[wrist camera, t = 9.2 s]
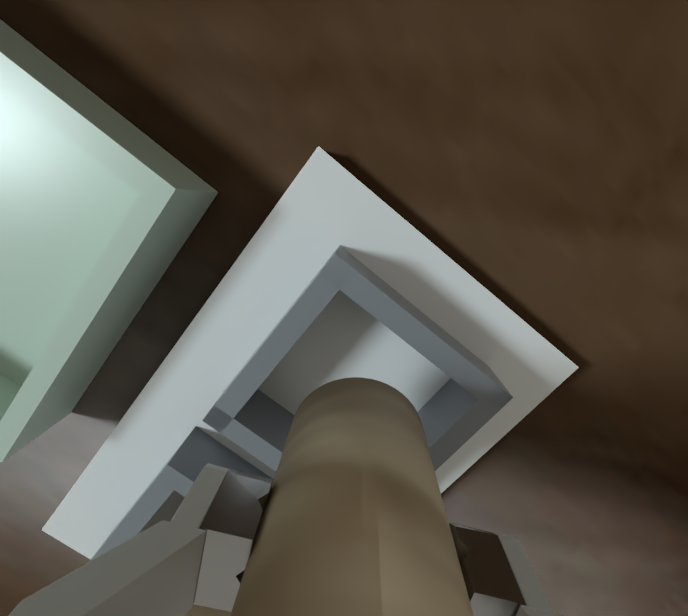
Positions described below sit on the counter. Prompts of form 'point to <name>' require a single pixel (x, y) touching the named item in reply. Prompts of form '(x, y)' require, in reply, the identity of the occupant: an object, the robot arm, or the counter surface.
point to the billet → (354, 515)
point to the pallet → (314, 358)
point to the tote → (74, 235)
